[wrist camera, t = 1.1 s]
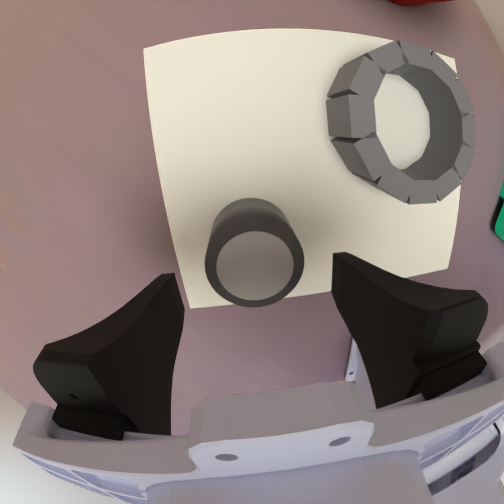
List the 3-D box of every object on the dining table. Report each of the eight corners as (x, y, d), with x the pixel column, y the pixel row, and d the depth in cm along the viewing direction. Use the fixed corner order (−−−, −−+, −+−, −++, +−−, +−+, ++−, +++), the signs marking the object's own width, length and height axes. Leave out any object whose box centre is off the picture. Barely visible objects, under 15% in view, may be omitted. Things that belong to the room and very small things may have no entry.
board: (442, 264, 20) (470, 288, 16) (191, 302, 20) (183, 341, 16) (448, 60, 12) (484, 55, 8) (147, 52, 12) (121, 32, 8)
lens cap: (291, 266, 18) (305, 302, 14) (218, 275, 18) (214, 313, 14) (287, 193, 16) (303, 214, 12) (205, 203, 16) (195, 227, 12)
